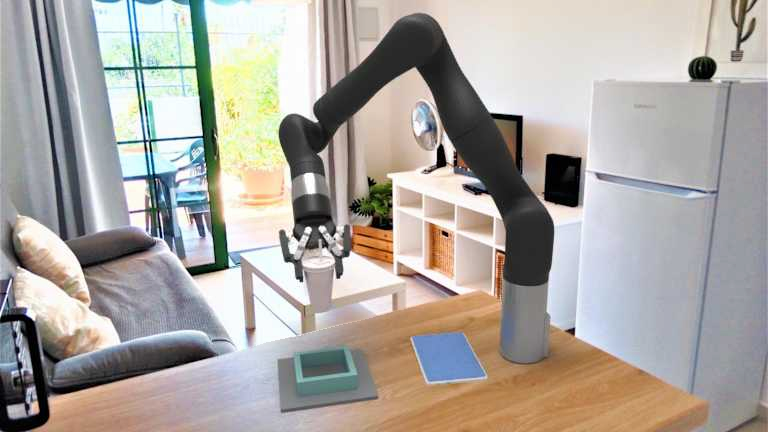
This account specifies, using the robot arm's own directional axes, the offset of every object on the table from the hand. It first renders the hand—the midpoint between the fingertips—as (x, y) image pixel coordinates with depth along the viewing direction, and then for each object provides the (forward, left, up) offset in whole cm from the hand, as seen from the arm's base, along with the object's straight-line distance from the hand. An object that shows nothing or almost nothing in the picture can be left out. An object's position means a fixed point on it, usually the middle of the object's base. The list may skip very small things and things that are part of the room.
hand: (320, 278), depth 107 cm
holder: (0, -1, -22) cm, 22 cm away
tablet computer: (-26, -3, -23) cm, 35 cm away
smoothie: (0, -2, -7) cm, 7 cm away
